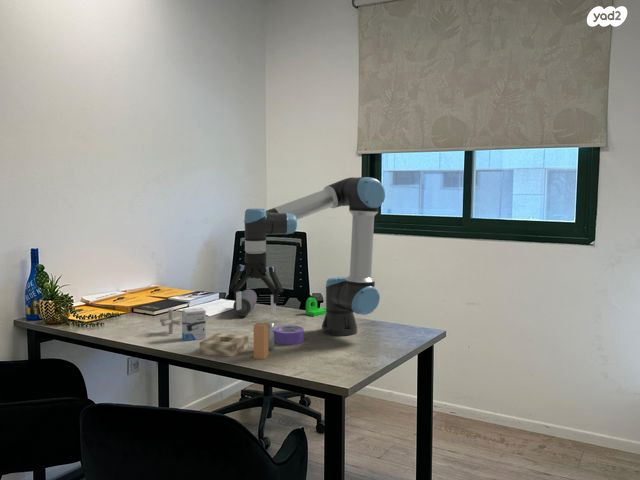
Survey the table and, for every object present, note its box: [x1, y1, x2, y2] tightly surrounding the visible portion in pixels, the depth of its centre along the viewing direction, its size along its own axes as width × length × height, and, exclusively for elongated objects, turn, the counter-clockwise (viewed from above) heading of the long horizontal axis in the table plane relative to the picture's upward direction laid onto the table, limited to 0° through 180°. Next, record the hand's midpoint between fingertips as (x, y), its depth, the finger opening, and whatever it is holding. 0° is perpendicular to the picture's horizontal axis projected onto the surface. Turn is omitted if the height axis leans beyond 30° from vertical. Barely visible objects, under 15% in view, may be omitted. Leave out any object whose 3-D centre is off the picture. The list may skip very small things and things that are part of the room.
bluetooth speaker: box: [232, 288, 258, 317], centre depth 277 cm, size 23×9×10 cm, turn 179°
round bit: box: [264, 321, 275, 352], centre depth 217 cm, size 4×4×10 cm
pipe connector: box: [159, 308, 182, 335], centre depth 238 cm, size 10×10×10 cm
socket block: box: [199, 332, 249, 357], centre depth 216 cm, size 13×14×4 cm
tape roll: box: [274, 324, 305, 346], centre depth 229 cm, size 12×12×5 cm
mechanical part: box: [305, 297, 326, 317], centre depth 277 cm, size 12×6×8 cm, turn 131°
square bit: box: [253, 322, 269, 360], centre depth 207 cm, size 4×4×12 cm
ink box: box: [181, 307, 207, 342], centre depth 231 cm, size 8×5×12 cm, turn 117°
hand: (256, 311), depth 207 cm, fingers open, 13 cm apart
